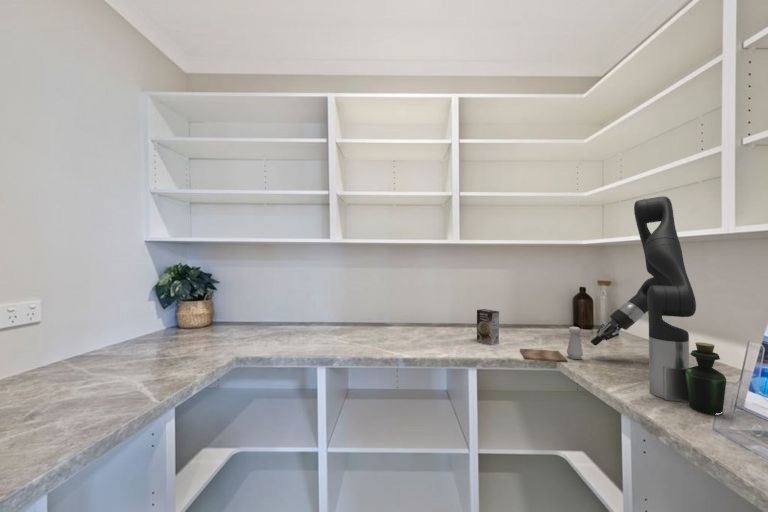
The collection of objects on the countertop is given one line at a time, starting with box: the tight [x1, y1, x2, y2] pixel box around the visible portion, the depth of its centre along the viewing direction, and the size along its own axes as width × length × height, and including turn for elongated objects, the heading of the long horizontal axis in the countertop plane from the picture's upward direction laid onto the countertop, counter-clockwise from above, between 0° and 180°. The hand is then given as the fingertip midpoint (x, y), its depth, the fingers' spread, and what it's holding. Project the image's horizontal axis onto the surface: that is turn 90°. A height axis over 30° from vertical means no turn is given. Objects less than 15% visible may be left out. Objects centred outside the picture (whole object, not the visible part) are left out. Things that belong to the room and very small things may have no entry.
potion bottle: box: [685, 342, 727, 416], centre depth 90 cm, size 8×8×18 cm
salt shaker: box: [566, 326, 584, 360], centre depth 137 cm, size 6×6×13 cm
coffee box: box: [476, 308, 500, 346], centre depth 163 cm, size 9×6×16 cm
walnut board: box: [519, 348, 569, 363], centre depth 140 cm, size 16×14×1 cm
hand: (592, 343), depth 135 cm, fingers closed
